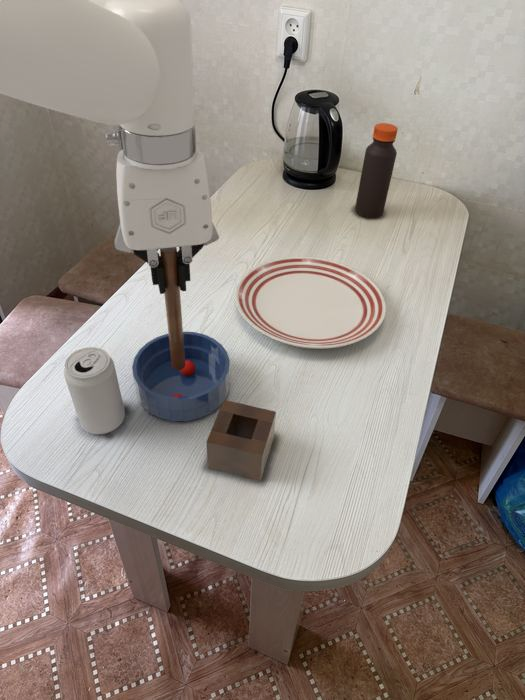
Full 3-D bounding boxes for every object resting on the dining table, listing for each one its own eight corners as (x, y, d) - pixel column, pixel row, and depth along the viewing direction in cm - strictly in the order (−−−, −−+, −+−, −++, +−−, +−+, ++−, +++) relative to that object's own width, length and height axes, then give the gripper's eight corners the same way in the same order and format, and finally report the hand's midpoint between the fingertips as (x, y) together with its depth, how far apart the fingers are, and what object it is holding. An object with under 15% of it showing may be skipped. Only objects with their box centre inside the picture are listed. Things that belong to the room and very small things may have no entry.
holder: (207, 468, 68) (206, 442, 64) (224, 426, 74) (223, 399, 69) (260, 481, 67) (262, 455, 63) (273, 438, 72) (276, 411, 68)
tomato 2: (181, 371, 80) (174, 371, 78) (187, 357, 80) (181, 357, 78) (193, 378, 80) (187, 378, 78) (200, 364, 80) (193, 365, 77)
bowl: (121, 412, 75) (115, 387, 71) (159, 348, 85) (155, 323, 81) (212, 434, 72) (211, 409, 69) (240, 366, 82) (240, 341, 79)
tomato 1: (164, 403, 74) (167, 409, 72) (171, 389, 74) (175, 394, 72) (178, 409, 75) (182, 415, 73) (186, 395, 75) (190, 400, 73)
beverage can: (71, 428, 72) (50, 370, 64) (98, 397, 76) (81, 339, 68) (109, 443, 71) (93, 385, 62) (134, 410, 75) (122, 352, 67)
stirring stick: (169, 368, 74) (157, 251, 60) (174, 359, 75) (163, 243, 62) (182, 371, 74) (173, 254, 60) (187, 362, 75) (179, 245, 61)
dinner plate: (263, 255, 106) (264, 241, 104) (393, 285, 100) (397, 271, 98) (210, 336, 87) (210, 322, 85) (366, 379, 81) (370, 365, 79)
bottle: (350, 213, 121) (365, 128, 107) (361, 202, 125) (377, 119, 111) (376, 222, 118) (395, 135, 105) (387, 210, 123) (406, 126, 109)
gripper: (79, 160, 48) (109, 312, 60) (242, 151, 51) (238, 296, 64) (78, 131, 53) (106, 276, 65) (226, 124, 57) (226, 263, 69)
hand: (171, 285), depth 65 cm, fingers closed on stirring stick, 2 cm apart
